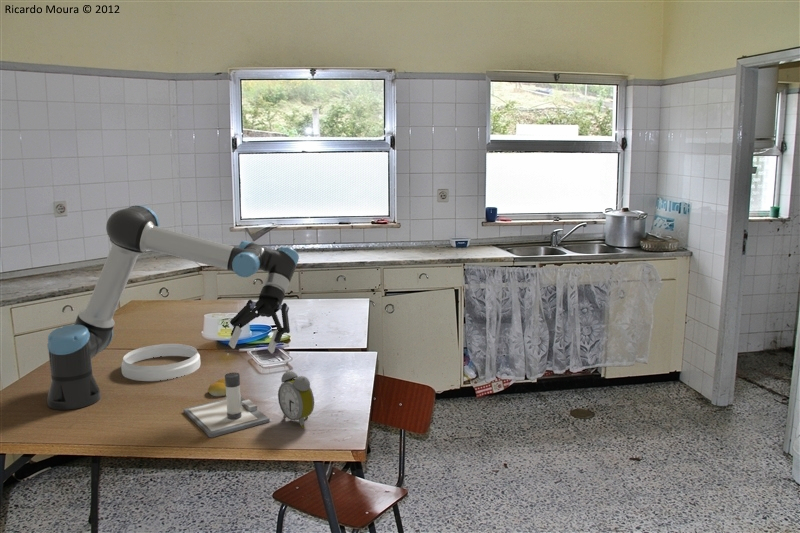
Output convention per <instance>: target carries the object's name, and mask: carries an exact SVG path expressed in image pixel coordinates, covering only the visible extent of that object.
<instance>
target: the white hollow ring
mask: <svg viewBox="0 0 800 533" xmlns="http://www.w3.org/2000/svg"><path fill="white" fill-rule="evenodd" d="M160 356H162V357H185V358H187V357H188V358H187V359H185V360H182V361H178V362H173V363H169V364H163V365H162V364H161V365H137V364H135V363H137V362H140V361H144V360H147V359H154V358H159V357H160ZM153 357H154V358H153ZM160 358H161V357H160ZM122 359H123V360H122V361H121V364H120V366H121V374H122V376H123V377H124V378H126V379H129V380H133V381H139V382H140V381H141V382H157V381H160V380H161V381H166V380H167V379H168V380H174V379H177V378H176V377H178V378H181V376H182V377H184V375H185V376H187V375H191V374H192V373H195V372H197V370H198V369H199V368H200V367H201V355H200V353H199V352H198V349H197V348H196V347H194V346H191V345H188V344H182V343H161V344H160V343H159V344H153V345H148V346H142V347H140V348H139V347H138V348H135V349H133V350H131V351H129V352H127V353H126V354H125V355H124V356H123V358H122ZM173 378H174V379H173Z"/></svg>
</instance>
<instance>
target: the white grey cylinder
mask: <svg viewBox="0 0 800 533" xmlns="http://www.w3.org/2000/svg"><path fill="white" fill-rule="evenodd" d="M240 375H241V374H240V373H239V372H228V373H225V374H224V379H225V386H226V396H225V399H226V400H227V418H228V419H231V420H235V419H239V418H241V416H242V415H241V399H240V397H241V377H240Z"/></svg>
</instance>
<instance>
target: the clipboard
mask: <svg viewBox="0 0 800 533" xmlns="http://www.w3.org/2000/svg"><path fill="white" fill-rule="evenodd" d="M240 399H241V415H242V416H241V418H239V419H235V420H231V419H228V418H227V400H226V398H224V399H220V400H215V401H210V402H206V403H203V404H198V405H194V406H189V407H185V408H183V413H184V414H185V415H186V416H187V417H188V418H189V419H190V420H191V421H192V422H194V423H195V425H197V427H199V429H201V430H202V431H203V432H204V433H205V434H206V435H207V436H208V437H209V438H215V437H218V436H222V435H225V434H226V435H227V434H229V433H235V432H237V431H241V430H244V429H248V428H252V427H255V426H259V425H263V424H267V423H269V422H271V421H270V418H269V417H268V416H267V415H266V414H264V413H263V412H261V410H260V409H258V405H257V404H256V403H255V402H253V401H252V400H250V399H249V398H248V399H244V398H243V396H240Z"/></svg>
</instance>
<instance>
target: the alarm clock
mask: <svg viewBox="0 0 800 533" xmlns="http://www.w3.org/2000/svg"><path fill="white" fill-rule="evenodd" d="M280 380H281V384H280V386H279V387H278V388H279V389H278V391H277V397H278V405H279V407H280V410H281V411H282V414H283V417H282V418H283V419H285V420H286V419H289V421H290V420H291V421H298V422H299V424H300V427H301V428H302V429H305V419H306V420H308V419H309V416H310V415H311V414H312V413H313V411H314V407H315V396H314V393H313V390H312V388H311V381H310V380H309V379H308V377H306V376H303V375H300V376H298V374H297V373H296V372H294V371H293V370H292V371H291V370H286V371H285V372H284V373H283V374H282V376H281V379H280Z"/></svg>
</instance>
